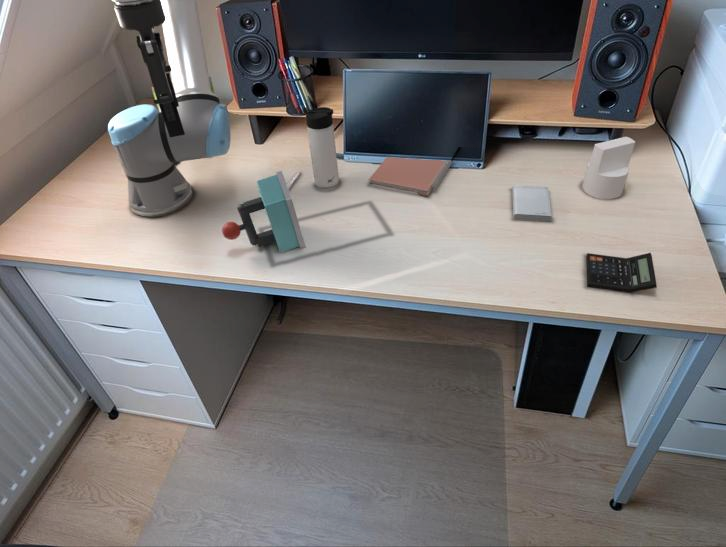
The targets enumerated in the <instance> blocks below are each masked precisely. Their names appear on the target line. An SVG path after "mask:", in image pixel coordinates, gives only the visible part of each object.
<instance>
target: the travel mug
mask: <svg viewBox="0 0 726 547" xmlns="http://www.w3.org/2000/svg"><path fill="white" fill-rule="evenodd" d="M333 114H334V109H333V108H330V107H327V106H326V107H325V106H320V107H316V108H313V109H310V110H309V111H308V112H307V113H306V115H305V123H306V130H307V137H308V144H309V152H310V158H311V167H312V173H313V182H314V186H315V187H316V188H317V189H319V190H331V189H335V188H337V186H338V185H340V179H339V178H340V177H339V167H338V158H337V148H336V137H335V128H334V122H333V121H334V120H333Z"/></svg>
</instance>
